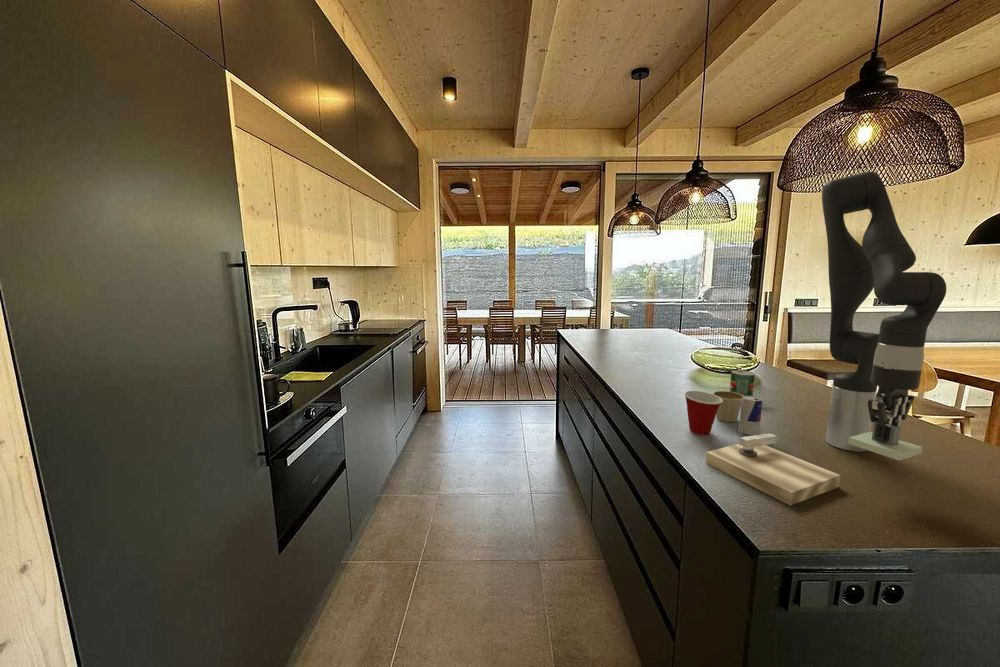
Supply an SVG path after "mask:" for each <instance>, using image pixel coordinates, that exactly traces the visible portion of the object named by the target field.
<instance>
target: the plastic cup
mask: <svg viewBox="0 0 1000 667" xmlns="http://www.w3.org/2000/svg"><path fill="white" fill-rule="evenodd" d="M684 397H685V403H686V409H687V419H688V420H687V421H688V425H689V427H688V428H689V431H690V432H691V433H693V434H695V435H699V436H709V435H710V434H711V432H712V428H713V425H714V423H715V419H716V413H717V410H718V408H719V406H720V404H721V403H722V402H723V399H721V398H720V397H718V396H716V395H714V394H713V393H710V392H705V391H701V390H686V391H685V392H684Z"/></svg>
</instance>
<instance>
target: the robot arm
mask: <svg viewBox="0 0 1000 667" xmlns="http://www.w3.org/2000/svg"><path fill="white" fill-rule="evenodd" d="M821 204H822V211H823V212H822V213H823V218H824V225H825V232H826V239H827V257H828V259H827V260H828V267H827V268H828V271H827V272H828V285H829V294H830V309H831V310H830V328H829V329H830V331H829V352H830V354H831V355H830V356H831V357H832V359H834V360H835V361H838V362H842V363H848V364H852V365H857V368H856V371H854V372H850V373H840V374H839V373H838V374H835V376H834V377H833V380H832V388H831V396H830V397H831V398H830V403H829V411H828V412H829V413H828V418H827V428H826V434H825V443H827V444H829V445H831V446H832V447H836V448H838V449H842V450H844V451H845V450H846V451H850V452H859V453H860V452H862V453H863V452H867V451H868V450H866V449H863V448H860V447H857V446H854V445H851V444H848V440H849V437H852V436H856V435H860V434H863V433H867V432H872V431H871V429H872V424H874V423H876V430H875V437H874V438H875V439H876V440H878V441H881V442H888V441H889V435H890V429H891V427H890V426H891V425H895V426H899V425H901V423H902V421H905V420H906V419H907V416H908V414H909V411H910V409H911V407H912V405H913V402H914V400H915V396H914V395H910V394H909V391H915V390H918V389H919V388H920V383H921V377H922V372H923V365H924V358H925V343H926V338H927V331H928V327H929V325H930V323H931V322H932V321H933V319H934V318H935V315H936V314H937V311H938V310H939V308H940V306H941V305H942V303H943V301H944V299H945V297H946V294H947V284H946V281H945V279H944V277H943V276H941V275H940V274H939V273H937V272H931V271H919V272H917V271H907V270H909V269H911V268H912V267H913V266H914V265H915V263H916V262H917V261H916V260H917V256H916V254H915V252H914V250H913V249H912V247H911V245H910V244H909V242H908V241H907V239H906V237H905V236H904V235H903V232H902V230H901V229H900V227H899V224H898V222H897V219H896V216H895V215H896V214H895V212H894V209H893V206H892V202H891V200H890V197H889V194H888V192H887V188H886V187H885V184H884V181H883V179H882V178H881V176H880V175H879V174H878V173H876V172H875V171H865V172H861V173H860V172H859V173H857V174H852V175H847V176H844V177H839V178H836V179H831V180H828V181H827V182H826V183H825V184H824V185H823V187H822V192H821ZM865 210H868V211H869V212H870V213H871V218H870V221H869V223H868V224H867V227H866V229H865V231H864V234H863V235H862V241H861V243H859V242H858V241H857V240H856V239H855V238H854V237H853V235H852V234H851V233H850V232H849V230H848V227H847V226H846V222H845V218H844V217H845V215H846V214H851V213H856V212H861V211H865ZM872 291H873V293H874V296H875V297H876V299H878V301H880V302H881V303H883V304H885V305H889V306H906V307H905V309H904V311H902V313H900V314H897V315H891V316H886V317H885V318H883V319H882V320H881V322H880V326H879V333H875V332H866V331H858V330H854V327H853V321H854V316H855V314H856V312H857V310H858V309H859V307H861V305H862V304H863V303H864V302H865V301H866V300H867V298H868V297H869V296H870V294H871V293H872ZM877 388H878V389H877Z"/></svg>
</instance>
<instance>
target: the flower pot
mask: <svg viewBox="0 0 1000 667" xmlns="http://www.w3.org/2000/svg"><path fill="white" fill-rule="evenodd" d="M712 394H714V395H716V396H718V397H720V398H721V399H723V402H722V403H721V404H720V406H719V408H718V410H717V413H716V416H715V419H718V420H719V421H721V422H726V423H736V422H737V421H738V418H739V416H740V411H741V400H742V398H743V395H741V394H738V393H735V392H730V390H729V391H727V390H717V391H713V392H712Z"/></svg>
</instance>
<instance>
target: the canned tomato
mask: <svg viewBox="0 0 1000 667" xmlns="http://www.w3.org/2000/svg"><path fill="white" fill-rule="evenodd" d="M730 372H731V374H730V383H729V392H735V393H738V394H741V395H743V396H754V387H755V376H756V373H755V372H753V371H751V370H743V369H733V370H731V371H730Z"/></svg>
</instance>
